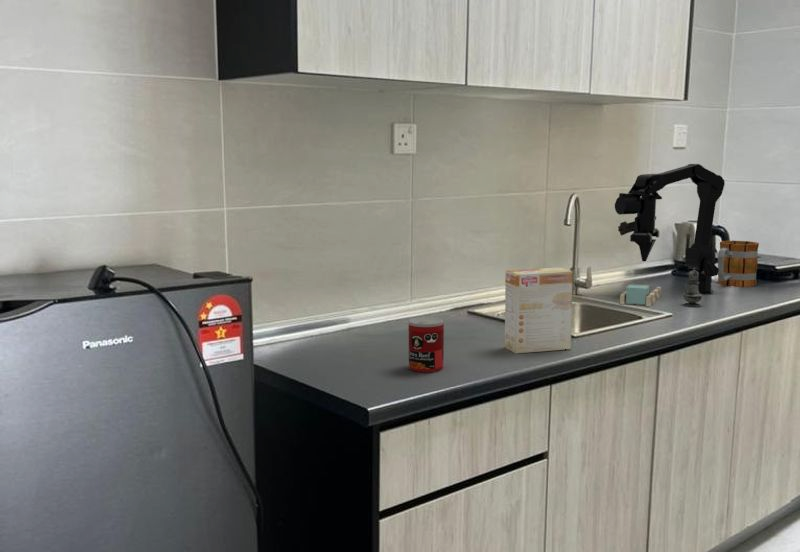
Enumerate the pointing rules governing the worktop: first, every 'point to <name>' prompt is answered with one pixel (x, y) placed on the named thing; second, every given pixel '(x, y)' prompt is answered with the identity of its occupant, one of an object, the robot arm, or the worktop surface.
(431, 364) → the canned food
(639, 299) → the block
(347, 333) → the worktop surface
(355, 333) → the worktop surface
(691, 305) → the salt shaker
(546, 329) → the coffeecake box
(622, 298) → the chute
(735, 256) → the mug
